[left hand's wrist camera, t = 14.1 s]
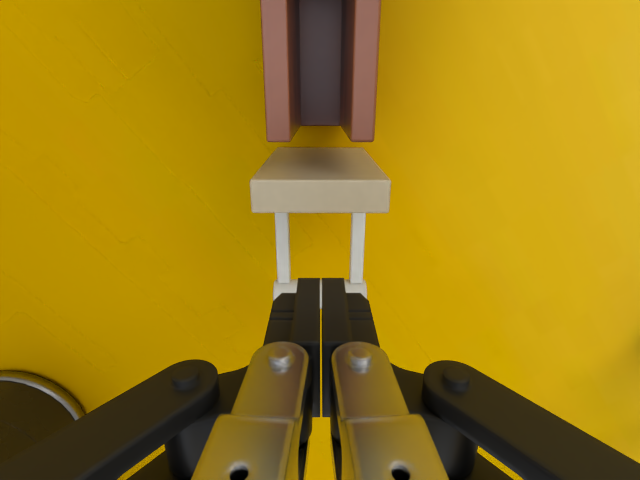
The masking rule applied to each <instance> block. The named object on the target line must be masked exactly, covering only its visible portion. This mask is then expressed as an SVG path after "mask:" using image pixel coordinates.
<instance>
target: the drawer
mask: <svg viewBox="0 0 640 480" xmlns="http://www.w3.org/2000/svg"><path fill="white" fill-rule="evenodd" d="M260 5H261V27H262V49H263V70H264V92H265V114H266V135H267V141H268V142H290V141H291V139H292V138H293V136H294V135H295V133H296V132H297V130H298V129H299V128H300V126H341V128H342V129H343V130H344V132H345V133H346V135H347V136H348V137H349V139H350V140H351V141H352V142H373V141H374V133H375V113H376V94H377V74H378V54H379V35H380V15H381V0H260ZM390 190H391V180H390V179H389V178H388V177H387V176H386V174H385V173H384V172H383V171H382V170H381V168H380V167H379V166H378V165H377V164H376V163H375V161H374V160H373V159H372V158H371V157H370V155H369V154H368V153H367V152H366V151H365V150H364V148H314V147H278V148H277V149H276V150H275V151H274V152H273V154H272V155H271V156H270V157H269V158H268V159H267V161H266V162H265V163H264V164H263V165H262V167H261V168H260V169H259V170H258V171H257V173H256V174H255V175H254V176H253V177H252V179H251V180H250V193H251V209H252V212H253V213H275V231H276V255H277V279H278V280H275V282H274V287H273V301H274V300H275V299H276V298H277V297H278V296H279V295H280V294H281V293H296V291H297V282H298V280H290V279H291V270H290V234H289V213H351V243H350V274H349V279H350V280H344V283H345V290H346V293H361V294H362V295H363V296H364V297H365V298H366V299H367V287H366V282H365V280H363V261H364V239H365V218H366V213H388V212H389V204H390ZM320 309H322V280H320Z"/></svg>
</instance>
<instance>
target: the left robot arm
mask: <svg viewBox="0 0 640 480" xmlns="http://www.w3.org/2000/svg"><path fill="white" fill-rule="evenodd" d="M312 417H320V278H298V282H297V291H296V293H281V294H280V295H279V296H278V297H277V298H276V299H275V300H274V301H273V305H272V309H271V313H270V318H269V322H268V326H267V331H266V335H265V340H264V344H263V346H262V347H261V348H259V349H258V350H257V351H256V352H255V353H254V354H253V356H252V358H251V361H250V364H249V365H248V366H246V367H244V368H241V369H239V370H235V371H231V372H227V373H222V374H218V372H217V369H216V368H215V366H214V365H213V364H211V363H209V362H207V361H204V360H186V361H182V362H178V363H176V364H173V365H171V366H169V367H168V368H166V369H164V370H162V371H161V372H159V373H157V374H155V375H154V376H152V377H150V378H148V379H147V380H145V381H143V382H142V383H140V384H138V385H136V386H135V387H133V388H131V389H129V390H128V391H126V392H124V393H122V394H121V395H119V396H117V397H115V398H114V399H112V400H110V401H108V402H107V403H105V404H103V405H102V406H100V407H98V408H96V409H95V410H93V411H91V412H89V413H88V414H86V415H85V414H84V412H83V410H82V409H81V407H80V406H79V404H78V403H77V402H76V401H75V399H74V398H73V397H72V396H71V395H70V394H68V393H67V392H66V391H65V390H63V389H62V388H61V387H59V386H57V385H56V384H54V383H52V382H50V381H48V380H46V379H44V378H42V377H39V376H36V375H32V374H29V373H24V372H17V371H0V480H117V479H118V478H119V477H120V476H121V475H122V474H124V473H125V472H126V471H128V470H129V469H130V468H132V467H133V466H134V465H136V464H137V463H139V462H140V461H141V460H143V459H144V458H145V457H147V456H148V455H149V454H151V453H152V452H154V451H155V450H156V449H158V448H159V447H160V446H162V445H163V444H165V451H164V452H163V453H161V454H160V455H159V456H157V457H156V458H155V459H153V460H152V461H151V462H149V463H148V464H147V465H145V466H144V467H143V468H141V469H140V470H139V471H137V472H136V473H135V474H133V475H132V476H131V477H129V478H128V479H127V480H306V471H307V463H308V454H309V445H310V439H309V437H310V435H311V432H312ZM322 417H330V424H331V439H330V445H331V454H332V463H333V471H334V480H513V479H512V478H511V477H509V476H508V475H507V474H505V473H504V472H503V471H501V470H500V469H499V468H497V467H496V466H495V465H493V464H492V463H491V462H489V461H488V460H487V459H485V458H484V457H483V456H481V455H480V454H479V453H477V449H478V446H480V447H481V448H482V449H484V450H485V451H486V452H488V453H489V454H491V455H492V456H493V457H495V458H496V459H497V460H499V461H500V462H502V463H503V464H504V465H506V466H507V467H508V468H510V469H511V470H512V471H514V472H515V473H517V474H518V475H519V476H520V477H522V478H523V479H524V480H640V464H639V463H638V462H636V461H634V460H632V459H631V458H629V457H627V456H625V455H624V454H622V453H620V452H619V451H617V450H615V449H613V448H612V447H610V446H608V445H606V444H605V443H603V442H601V441H599V440H598V439H596V438H594V437H592V436H591V435H589V434H587V433H585V432H584V431H582V430H580V429H579V428H577V427H575V426H573V425H572V424H570V423H568V422H566V421H565V420H563V419H561V418H559V417H558V416H556V415H554V414H552V413H551V412H549V411H547V410H545V409H544V408H542V407H540V406H539V405H537V404H535V403H533V402H532V401H530V400H528V399H526V398H525V397H523V396H521V395H519V394H518V393H516V392H514V391H512V390H511V389H509V388H507V387H505V386H504V385H502V384H500V383H498V382H497V381H495V380H493V379H492V378H490V377H488V376H486V375H485V374H483V373H481V372H479V371H478V370H476V369H474V368H472V367H470V366H468V365H466V364H463V363H460V362H456V361H449V360H443V361H437V362H434V363H432V364H430V365H429V366H427V367H426V369H425V371H424V374H421V373H417V372H412V371H408V370H405V369H402V368H399V367H397V366H395V365H393V364H392V363H390V361H389V358H388V356H387V354H386V353H385V352H384V351H383V350H382V349H381V348H380V346H379V342H378V338H377V334H376V330H375V325H374V321H373V317H372V313H371V309H370V304H369V301H368V300H367V299H366V298H365V297H364V296H363V295H362V294H361V293H346V290H345V283H344V278H322Z"/></svg>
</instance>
